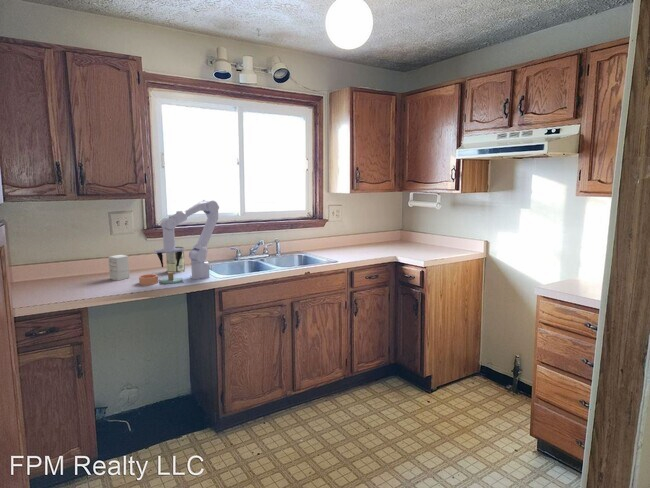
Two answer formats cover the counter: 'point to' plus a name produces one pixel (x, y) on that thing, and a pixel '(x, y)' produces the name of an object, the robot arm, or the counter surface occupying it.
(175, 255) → the coffee can
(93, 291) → the counter surface
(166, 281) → the lid
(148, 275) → the bowl
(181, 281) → the mat
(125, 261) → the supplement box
